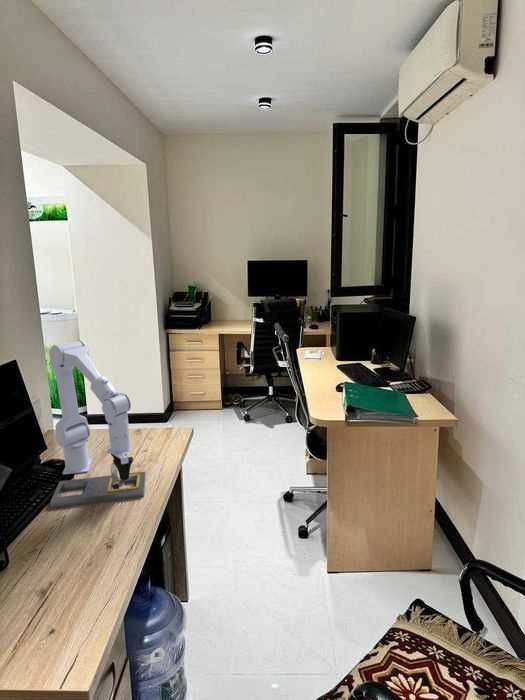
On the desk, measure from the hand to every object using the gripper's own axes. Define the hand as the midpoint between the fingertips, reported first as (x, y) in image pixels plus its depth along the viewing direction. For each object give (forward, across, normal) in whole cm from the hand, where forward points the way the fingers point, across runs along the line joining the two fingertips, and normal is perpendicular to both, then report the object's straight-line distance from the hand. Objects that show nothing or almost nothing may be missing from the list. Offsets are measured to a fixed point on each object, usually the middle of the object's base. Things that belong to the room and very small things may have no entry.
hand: (123, 475), depth 141 cm
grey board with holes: (+4, -2, -7) cm, 8 cm away
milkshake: (+5, 0, -2) cm, 5 cm away
